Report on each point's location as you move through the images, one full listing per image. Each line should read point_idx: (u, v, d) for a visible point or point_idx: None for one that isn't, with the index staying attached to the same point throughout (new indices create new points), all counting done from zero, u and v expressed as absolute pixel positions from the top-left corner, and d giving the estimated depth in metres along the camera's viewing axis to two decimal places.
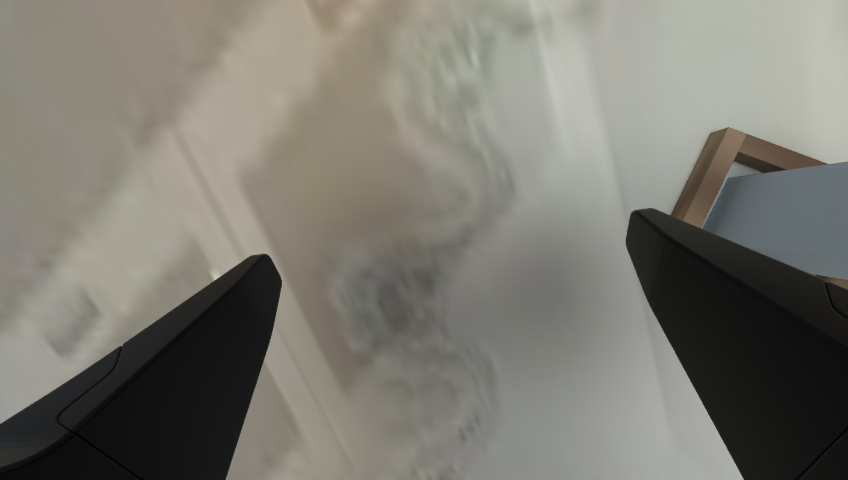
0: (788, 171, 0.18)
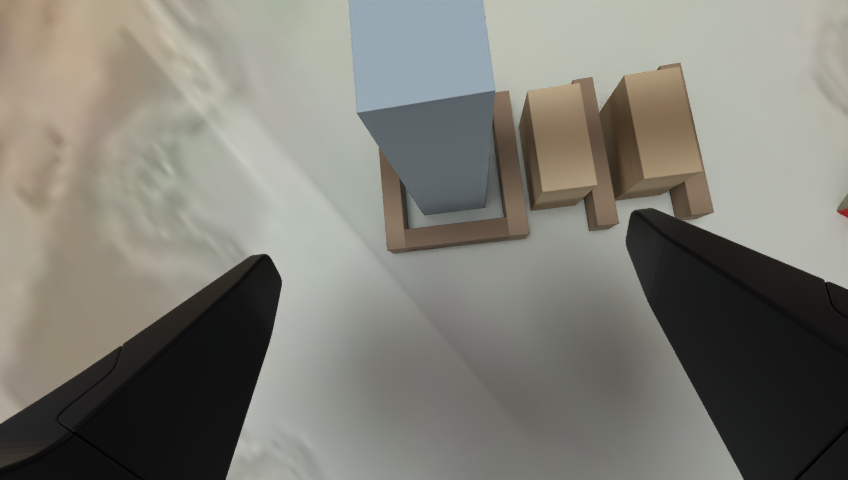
0: None
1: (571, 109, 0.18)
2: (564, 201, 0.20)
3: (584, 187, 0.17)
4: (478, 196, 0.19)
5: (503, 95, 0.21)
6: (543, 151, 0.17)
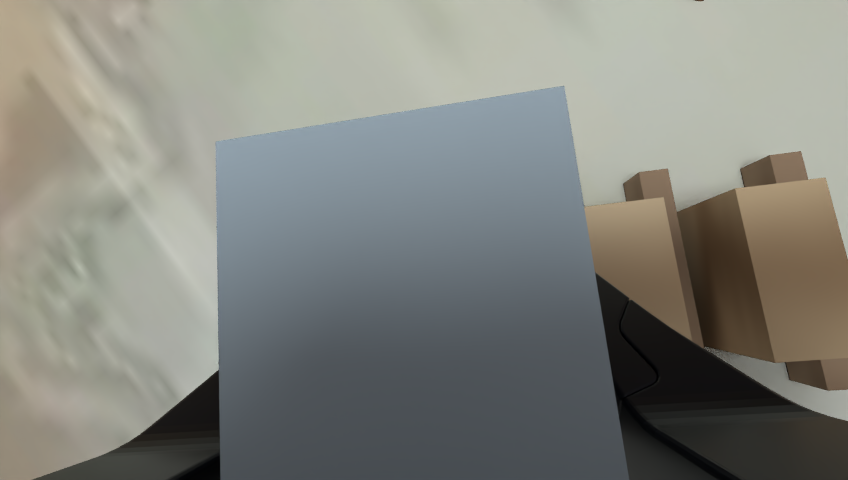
0: None
1: (651, 240, 0.11)
2: None
3: None
4: None
5: None
6: None
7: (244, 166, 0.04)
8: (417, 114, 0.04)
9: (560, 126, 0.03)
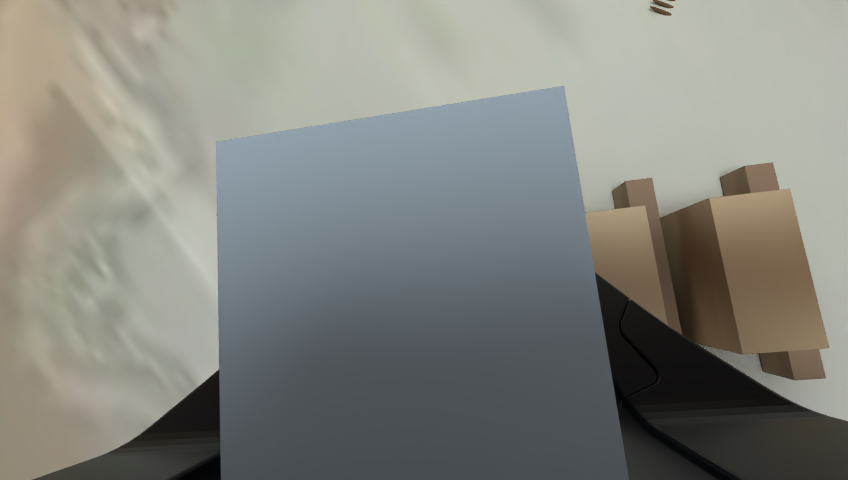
0: None
1: (633, 244, 0.13)
2: None
3: None
4: None
5: None
6: None
7: (244, 166, 0.04)
8: (417, 115, 0.04)
9: (560, 126, 0.03)
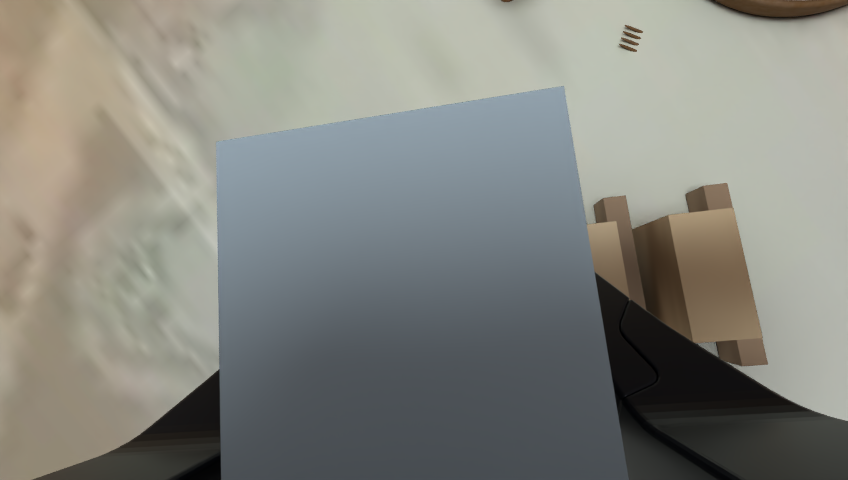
0: None
1: (606, 253, 0.15)
2: None
3: None
4: None
5: None
6: None
7: (244, 166, 0.04)
8: (417, 114, 0.04)
9: (560, 126, 0.03)
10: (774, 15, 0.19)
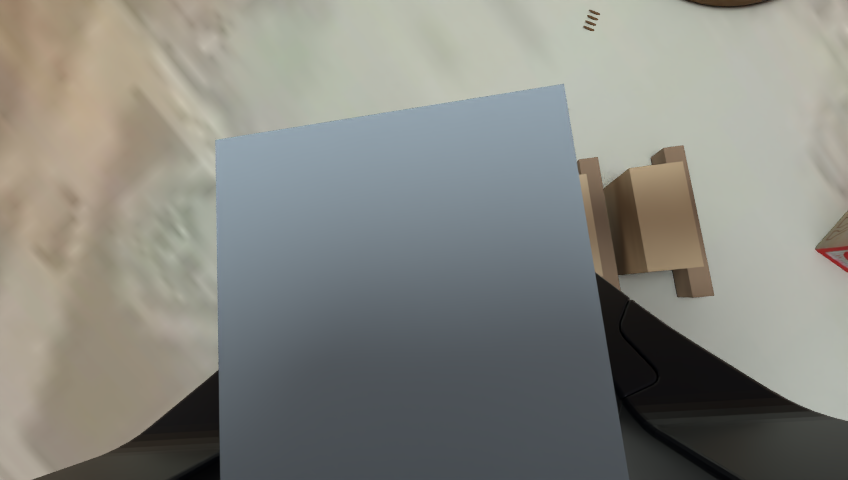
0: None
1: None
2: None
3: None
4: None
5: None
6: None
7: (244, 164, 0.04)
8: (416, 113, 0.04)
9: (560, 124, 0.03)
10: (716, 4, 0.22)
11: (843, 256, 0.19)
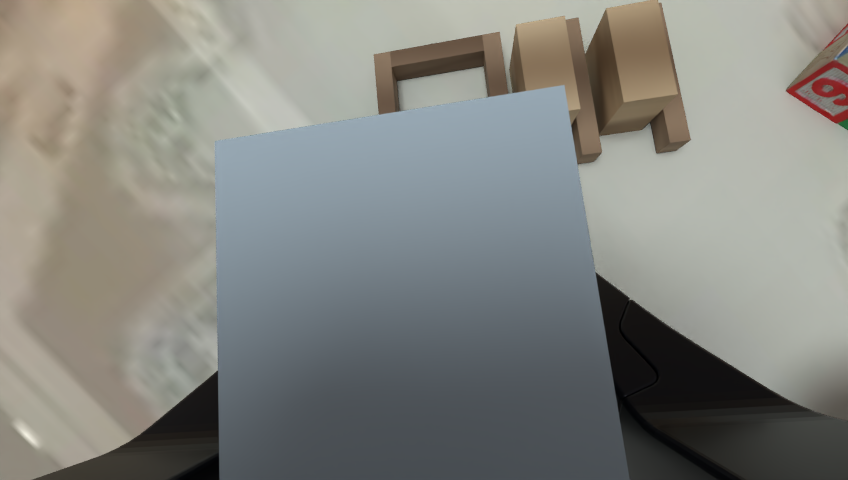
0: None
1: (556, 40, 0.19)
2: None
3: None
4: None
5: (494, 36, 0.22)
6: (530, 80, 0.19)
7: (243, 165, 0.04)
8: (417, 114, 0.04)
9: (560, 125, 0.03)
10: None
11: (812, 89, 0.20)
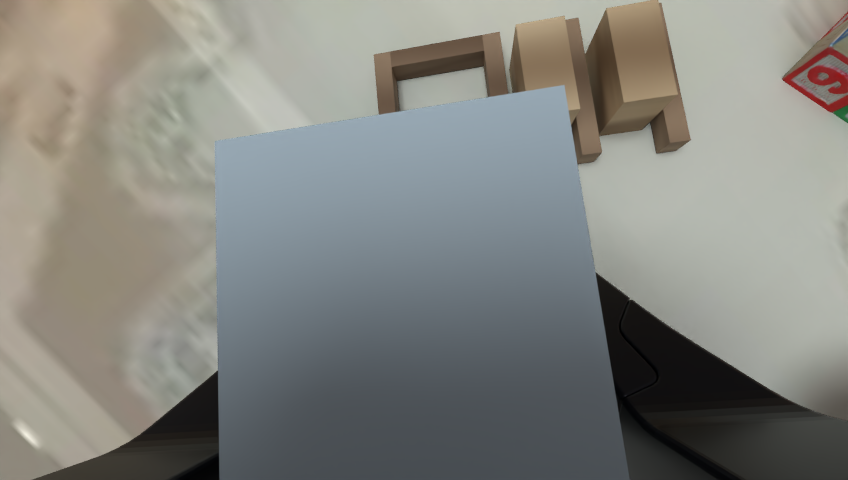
0: None
1: (556, 40, 0.19)
2: None
3: None
4: None
5: (494, 36, 0.22)
6: (530, 79, 0.19)
7: (243, 165, 0.04)
8: (417, 114, 0.04)
9: (560, 125, 0.03)
10: None
11: (807, 77, 0.20)
